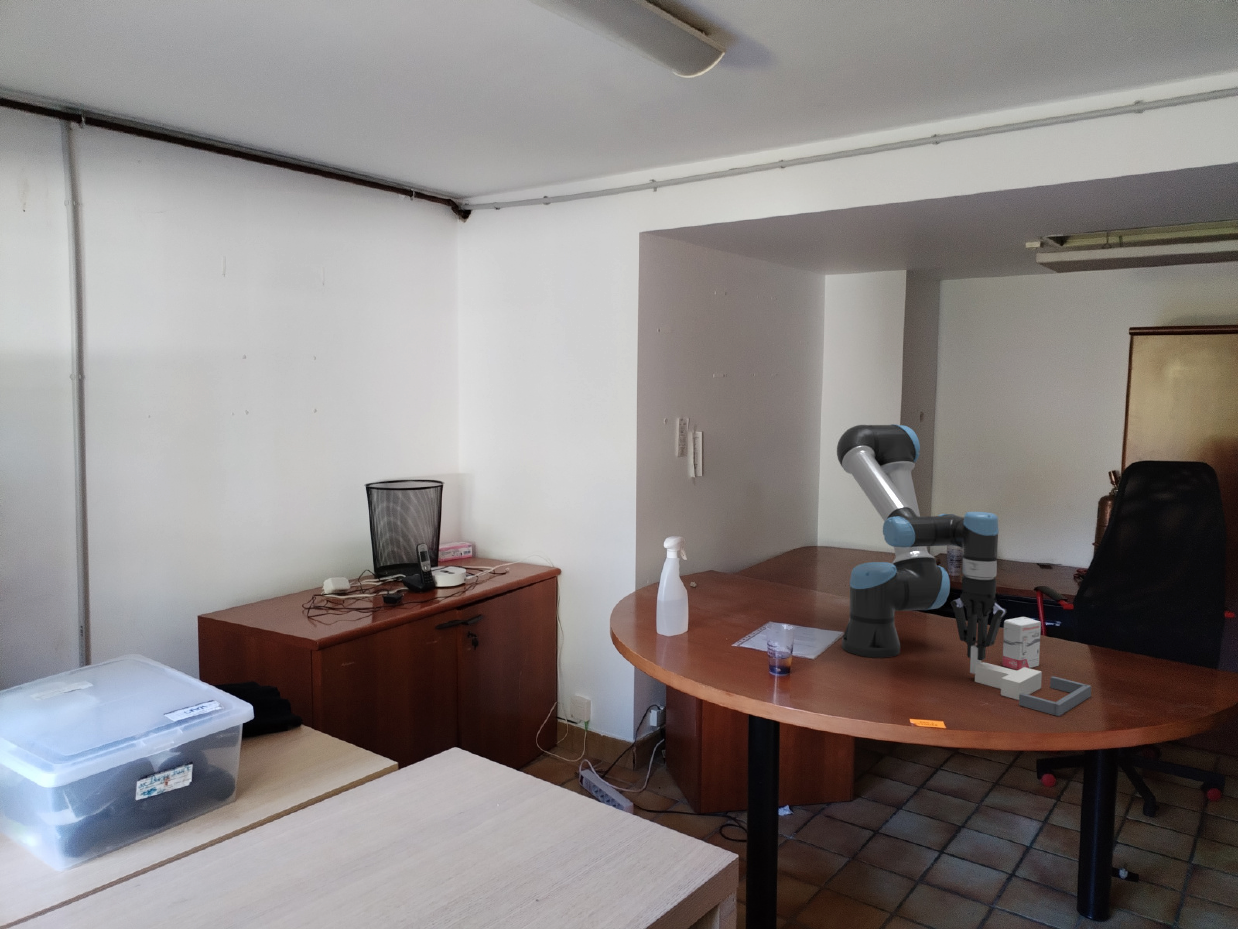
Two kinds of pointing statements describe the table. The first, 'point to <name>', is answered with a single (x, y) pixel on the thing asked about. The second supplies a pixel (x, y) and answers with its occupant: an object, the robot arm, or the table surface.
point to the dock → (1058, 708)
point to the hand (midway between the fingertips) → (975, 672)
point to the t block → (1008, 679)
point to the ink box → (1021, 643)
